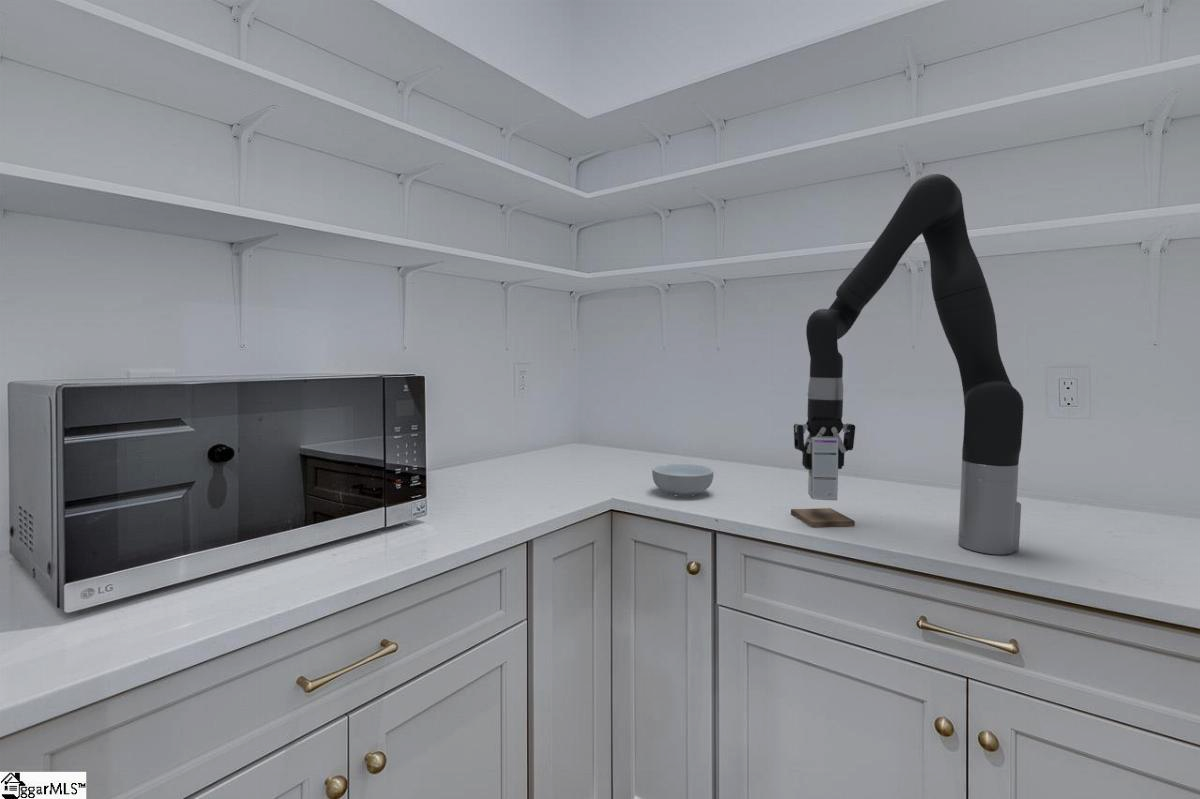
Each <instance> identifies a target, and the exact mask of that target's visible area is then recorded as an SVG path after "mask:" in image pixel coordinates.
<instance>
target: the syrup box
mask: <svg viewBox="0 0 1200 799" xmlns="http://www.w3.org/2000/svg"><path fill="white" fill-rule="evenodd" d="M810 440H812V442H813V443H812V452H811V454H812V468H811V469H809V470H808V482H807V484H808V487H807V488H808V489H807V491H808V495H809V496H810V498H811V499H812V500H816V501H817V500H819V501H838V491H839V490H838V489H839V488H838V486H839V469H838V438H837V437H834V436H822V437H810Z"/></svg>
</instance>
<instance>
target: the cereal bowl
mask: <svg viewBox="0 0 1200 799" xmlns="http://www.w3.org/2000/svg"><path fill="white" fill-rule="evenodd" d="M651 472H652V473H651V474H652V480H653V482H654V484H655V486H656V487H658V489H659V490H662V491H664V492H666V493H667V494H669V495H670V494H672V495H671V496H673V495H677V496H676V497H679V496H690V497H693V496H692V495H695V496H697V494H700V493H703V492H705V491H706V490H707V489H708V488H710V487H711V485H712V483H713V480H714V470H713V469H712V467H709V466H708V465H702V464H697V463H687V462H686V463H684V462H682V463H680V462H679V463H678V462H677V463H675V462H674V463H665V464H660V465H659V464H658V465H655V466H654V467H652V470H651Z"/></svg>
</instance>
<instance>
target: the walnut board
mask: <svg viewBox="0 0 1200 799" xmlns="http://www.w3.org/2000/svg"><path fill="white" fill-rule="evenodd" d="M790 515H792V516H793V517H795V518H796V517H797V518H796V519H798V520H799V519H800V521H801V522H803V524H806V525H807V526H809V527H810V528H833V527H834V528H836V527H839V526H841V527H855V525H856V521H855V520H854V519H852V518H850V517H848V516H847V515H844V514H843V513H841V512H839V511H837V510H834V509H833V508H831V507H827V508H825V507H824V508H821V507H820V508H792V509H791V508H790ZM839 528H840V527H839Z"/></svg>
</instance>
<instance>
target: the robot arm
mask: <svg viewBox="0 0 1200 799" xmlns="http://www.w3.org/2000/svg"><path fill="white" fill-rule="evenodd" d="M963 202H964V201H963V195H962V192H961V190H960V188H959V187H958V185H957V184H956V182H954V180H952V179H951V178H950V177H948V176H946V175H945V174H940V173H933V174H927V175H925V176H922V177H921V178H919V179H918V180H916V181H915V182H913V184H912V185H911V186H910V188H909V189H908V191H907V192H906V194H905V196H903V199H902V201H901V202H900V204H899V205H898V207H897V209H896V211H895V212H894V214H893V216H892V217H891V218H890V220H889V221H888V223H887V224H886V227H885V228H884V230H882V232H881V233H880V235H879V236H878V238H877V239H876V241H875V242H874V243H873V244H872V246H871V247H870V248H869V249H868V251H867V252H866V253H865V255H864V256H863V257H862V258H861V260H860V261H859V262H858V263H857V264H856V266H855V267H854V268H853V269H852V270H851V271H850V273H849V274H848V276H846V278H845V279H844V280H843V281H842V283H841V284H840V285H839V286H838V288H837V290H836V291H835V293H836V294H835V296H836V297H835V299H834V301H833V302H832V304H831V305H830V306H829V308H828V309H827V308H820V309H816V310H814V311H813V312H812V313H811V314H810V316H809V317H808V319H807V323H806V328H805V329H806V330H805V332H806V335H805V336H806V340H807V347H808V352H809V358H810V363H809V382H808V388H807V421H806V423H805V424H804V423H803V424H799V423H795V424H793V442H794V444H793V445H794V446H793V447H794V449H795V450H798V451H800V452H802V461H801V462H802V463H801V465H802V466H803V467H804V469H805V470H808V471H809V469H811V468H812V454H811V452H812V443H813V442H812V440H810V437H822V436H834V437H837V438H838V470H842V469H843V467H844V466H845V453H846V452H848V451H853V449H854V444H855V433H856V425H855V424H853V423H848V422H847V423H843V419H842V418H843V416H844V413H843V412H844V411H843V409H844V406H843V404H844V382H843V380H844V379H843V373H844V372H843V370H844V369H843V368H844V358H843V355H842V353H840V352H839V347H838V346H839V345H838V344H839V343H838V340H840V339H842V338H843V336H845V335H846V334H847V333H848V332H849V331H850V329H851V328H852V327H853V325H854V324H855V322H856V321H857V319H858V318H859V316H860V315H861V312H862V311H863V309H864V308H865V306H867V304H869V302H870V301H871V300H872V299H873V298H874V296H876V294H877V293H879V291H880V290H881V289H882V288H883V286H884V285H885V284H886V282H887V281H888V279H889V278H890V276H891V275H892V273H893V272H894V270H895V269H896V267H897V265H898V264H899V262H900V260H901V259H902V258H903V256H904V254H905V253H906V252H907V250H908V249H909V248H910V246H911V245H912V244H913V243H914V242H915V241H916V240H917V239H918V237H920V235H922V237H923V239H924V242H925V245H926V249H927V251H928V255H929V262H930V263H929V264H930V279H931V280H930V283H931V290H932V296H933V301H934V304H935V308H936V311H937V314H938V315H937V316H938V318H939V321H940V324H941V327H942V330H943V332H944V334H945V337H946V339H947V342H948V344H949V345H950V348H951V351H952V353H953V355H954V357H955V360H956V363H957V365H958V370H959V374H960V382H961V387H962V392H963V394H962V395H963V405H964V419H963V422H964V423H963V437H962V438H963V441H962V449H961V452H962V453H961V454H962V455H961V478H960V497H959V499H960V500H959V518H958V519H959V520H958V521H959V522H958V536H957V537H958V540H957V543H958V545H959V546H960V547H962V548H964V549H967V550H969V551H974V552H977V553H981V554H982V553H983V554H990V555H1010V554H1013V553H1015V552H1020V535H1021V517H1022V516H1021V515H1022V504H1021V502H1019V501H1017V499H1018V484H1019V483H1018V481H1019V480H1018V478H1019V463H1020V462H1019V461H1020V452H1021V450H1022V449H1021V448H1022V440H1023V425H1024V424H1023V423H1024V400H1023V397H1022V395H1021V393H1020V392H1019V390H1017V389H1016V388H1015V387H1014V386H1013V385H1012V383H1011V381H1010V378H1009V376H1008V373H1007V372H1006V371H1007V370H1006V368H1005V366H1004V364H1003V361H1002V358H1001V354H1000V350H999V349H1000V348H999V341H998V340H999V339H998V330H997V329H998V328H997V321H996V314H995V309H994V304H993V302H992V298H991V294H990V291H989V288H988V284H987V281H986V279H985V276H984V273H983V270H982V267H981V264H980V262H979V260H978V258H977V255H976V253H975V251H974V249H973V246H972V245H971V242H970V238H969V235H968V230H967V222H966V218H965V212H964V210H965V209H964V204H963ZM806 431H807V432H808V435H807V437H806V439H805V436H804V434H806ZM841 432H842V433H843V439H842V438H841V436H840V433H841Z"/></svg>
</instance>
